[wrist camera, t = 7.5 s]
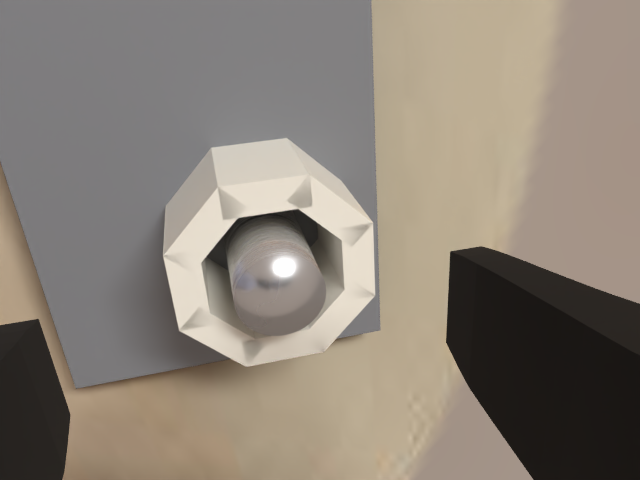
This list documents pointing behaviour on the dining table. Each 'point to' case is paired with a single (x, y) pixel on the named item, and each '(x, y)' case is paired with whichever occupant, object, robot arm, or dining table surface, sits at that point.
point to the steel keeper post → (273, 274)
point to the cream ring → (255, 199)
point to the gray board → (164, 146)
